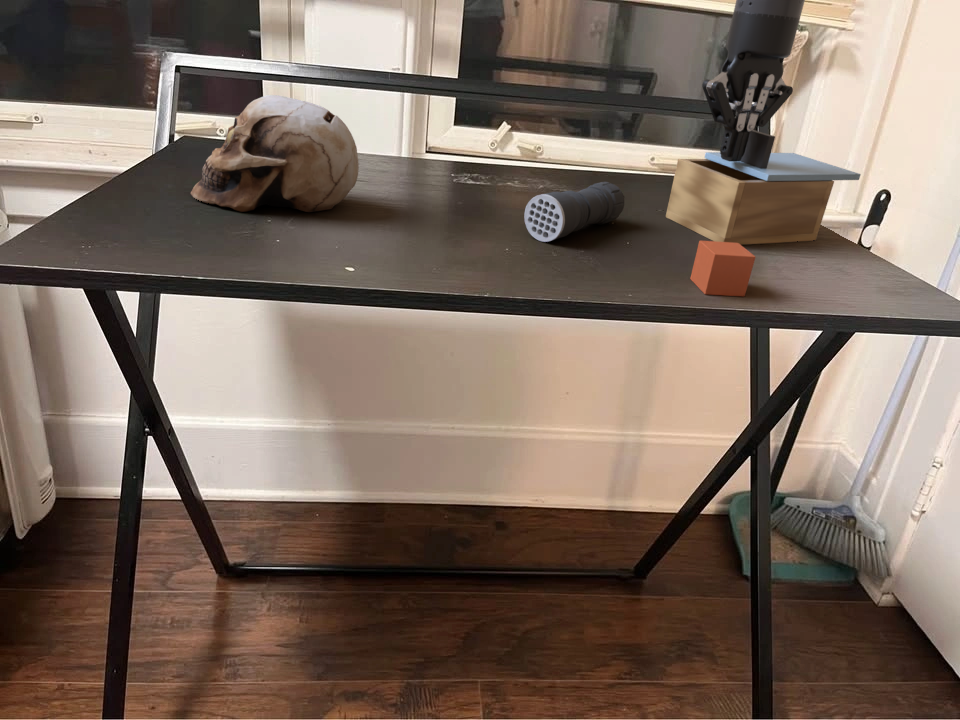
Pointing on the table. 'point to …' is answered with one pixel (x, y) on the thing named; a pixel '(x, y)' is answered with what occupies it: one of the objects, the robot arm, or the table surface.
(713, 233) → the oak box
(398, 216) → the table surface
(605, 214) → the flashlight
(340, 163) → the beige skull model
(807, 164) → the sliding lid
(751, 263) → the block
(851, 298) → the table surface
